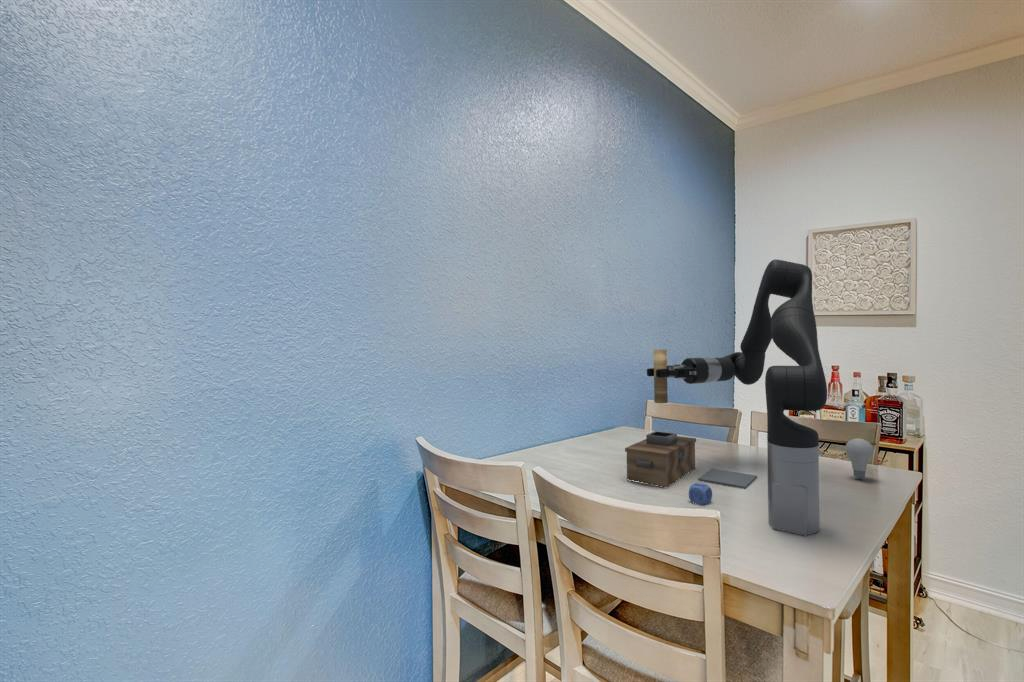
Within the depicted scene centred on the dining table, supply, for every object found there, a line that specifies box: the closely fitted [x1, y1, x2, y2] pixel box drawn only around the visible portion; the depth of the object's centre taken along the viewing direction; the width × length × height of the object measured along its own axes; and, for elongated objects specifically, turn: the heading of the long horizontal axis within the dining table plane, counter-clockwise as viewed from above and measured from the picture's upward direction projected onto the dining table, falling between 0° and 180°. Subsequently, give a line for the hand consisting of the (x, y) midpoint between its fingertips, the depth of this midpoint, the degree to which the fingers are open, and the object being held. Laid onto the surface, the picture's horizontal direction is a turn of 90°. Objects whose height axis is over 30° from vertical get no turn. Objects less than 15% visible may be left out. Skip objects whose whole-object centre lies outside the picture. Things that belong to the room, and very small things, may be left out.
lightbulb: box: [844, 437, 874, 480], centre depth 129 cm, size 6×6×11 cm
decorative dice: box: [688, 482, 713, 506], centre depth 115 cm, size 4×4×4 cm
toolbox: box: [624, 435, 697, 488], centre depth 138 cm, size 25×12×9 cm, turn 140°
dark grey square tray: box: [645, 430, 678, 447], centre depth 138 cm, size 6×6×2 cm
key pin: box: [652, 349, 669, 404], centre depth 137 cm, size 4×4×15 cm
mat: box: [697, 467, 758, 490], centre depth 132 cm, size 12×12×1 cm
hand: (652, 372), depth 136 cm, fingers closed on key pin, 3 cm apart
